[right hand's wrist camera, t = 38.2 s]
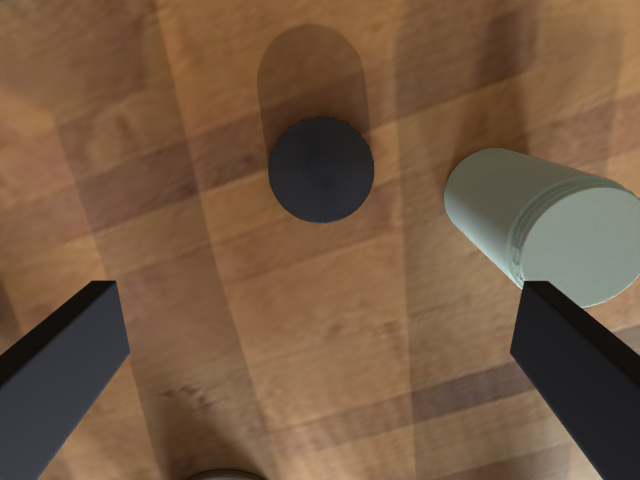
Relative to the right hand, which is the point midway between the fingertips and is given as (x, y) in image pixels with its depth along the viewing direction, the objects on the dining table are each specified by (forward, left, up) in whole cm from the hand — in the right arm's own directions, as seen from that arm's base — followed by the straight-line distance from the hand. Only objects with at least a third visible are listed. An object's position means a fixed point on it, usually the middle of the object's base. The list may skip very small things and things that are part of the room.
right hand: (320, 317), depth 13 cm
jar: (-3, -16, -26) cm, 31 cm away
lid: (0, 0, -25) cm, 25 cm away
